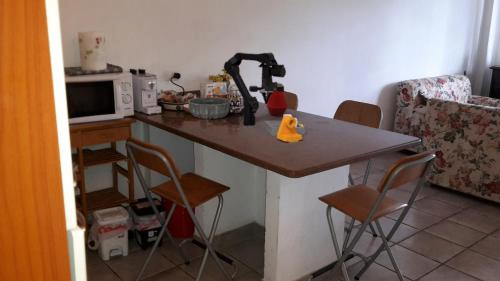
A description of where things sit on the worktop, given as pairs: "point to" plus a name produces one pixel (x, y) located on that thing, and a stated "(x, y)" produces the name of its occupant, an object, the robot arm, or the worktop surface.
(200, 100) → the bundt pan
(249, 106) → the robot arm
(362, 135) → the worktop surface
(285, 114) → the tab
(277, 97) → the bottle
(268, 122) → the switch bank
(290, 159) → the worktop surface
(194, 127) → the worktop surface
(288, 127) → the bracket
